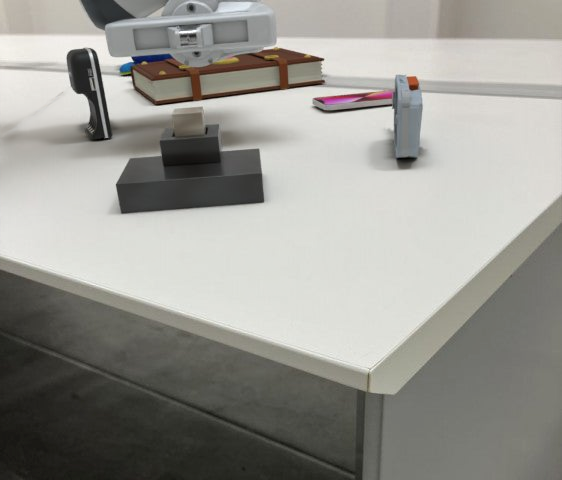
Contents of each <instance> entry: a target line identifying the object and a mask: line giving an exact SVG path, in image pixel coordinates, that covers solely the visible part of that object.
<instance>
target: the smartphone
mask: <svg viewBox="0 0 562 480" xmlns="http://www.w3.org/2000/svg"><path fill="white" fill-rule="evenodd" d="M392 90H393V91H395V89H388V90H379V91H370V92H369V91H368V92H359V93H350V94H339V95H329V96H318V97H313V98H312V105H313V106H315V107H317V108H319V109H322V110H324V111H337V110H346V109H356V108H357V109H358V108H366V107H377V106H385V105H392V93H393V91H392Z"/></svg>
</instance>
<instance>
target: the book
mask: <svg viewBox="0 0 562 480" xmlns="http://www.w3.org/2000/svg"><path fill="white" fill-rule="evenodd" d="M324 61H325V58H324V57H319V56H316V55H313V54H308V53H303V52H299V51H294V50H291V49H287V48H283V47H277V46H275V47H273V48H267V49H263V50H262V51H261V52H255V53H251V54H244V55H238V56H232V57H228V58H226V59H223V60H221V61H218V62H213V63H211V64H209V65H207V66H203V67H190V66H186V65H184V64H182V63H180V62H178V61H177V60H174V59H165V60H164V61H158V62H149V63H147V62H142V63H140V64H135V65H133V66H130V70H131V73H130V75H131V81H132V87H133V89H134V90H136V91H137V92H139V93H140V95H143V96H144V97H145V98H146V99H148V100H149V101H151V102H152V103H153V104H155V105H160V104H169V103H176V102H183V101H194V102H195V101H202V100H203V99H208V98H216V97H224V96H231V95H239V94H247V93H248V94H249V93H254V92H263V91H271V90H288V89H290V88H294V87H301V86H309V85H310V86H311V85H318V84H325V83H326V81H325V79H323V75H322V74H323V71H322V70H323V67H322V66H323V63H322V62H324Z"/></svg>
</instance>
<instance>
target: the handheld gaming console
mask: <svg viewBox="0 0 562 480" xmlns="http://www.w3.org/2000/svg"><path fill="white" fill-rule="evenodd" d="M391 90H392V91H393V90H395V91H393V93H392V104H391V110H393V145H394V156H395V159H408V160H409V159H411V158H414V159H415V158H419V151H420V144H421V129H422V120H423V109H424V104H423V96H422V89H421V86H420V82H419V80H418V77H417V76H416V75H415V76H414V75H413V76H407V74H395V77H394V89H391Z"/></svg>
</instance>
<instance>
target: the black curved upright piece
mask: <svg viewBox="0 0 562 480" xmlns="http://www.w3.org/2000/svg"><path fill="white" fill-rule="evenodd" d="M65 59H66V67H67V72H68V78H69V83H70V87H71V88H72V91H74V93H75V94H76V95H84V96H85V98H86V99H87V102H88V103H87V104H88V108H89V120H88V124H87V126H86V127H85V128H84V132H85V135H86V136H87V137H88V139H90V140H93V139H95V140H102V139H101V138H104V139H105V138H108V139H109V137H110V138H112V137H113V132H112V126H111V121H110V116H109V110H108V109H109V108H108V104H107V99H106V97H107V96H106V92H105V87H104V81H103V76H102V71H101V70H102V69H101V64H100V60H99V56H98V53H97V51H96V50H95V49H94V48H91V47H87V46H86V47H82V48H76V49H75V48H74V49H71V50H69V51H68V52H67V54H66V58H65Z"/></svg>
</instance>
